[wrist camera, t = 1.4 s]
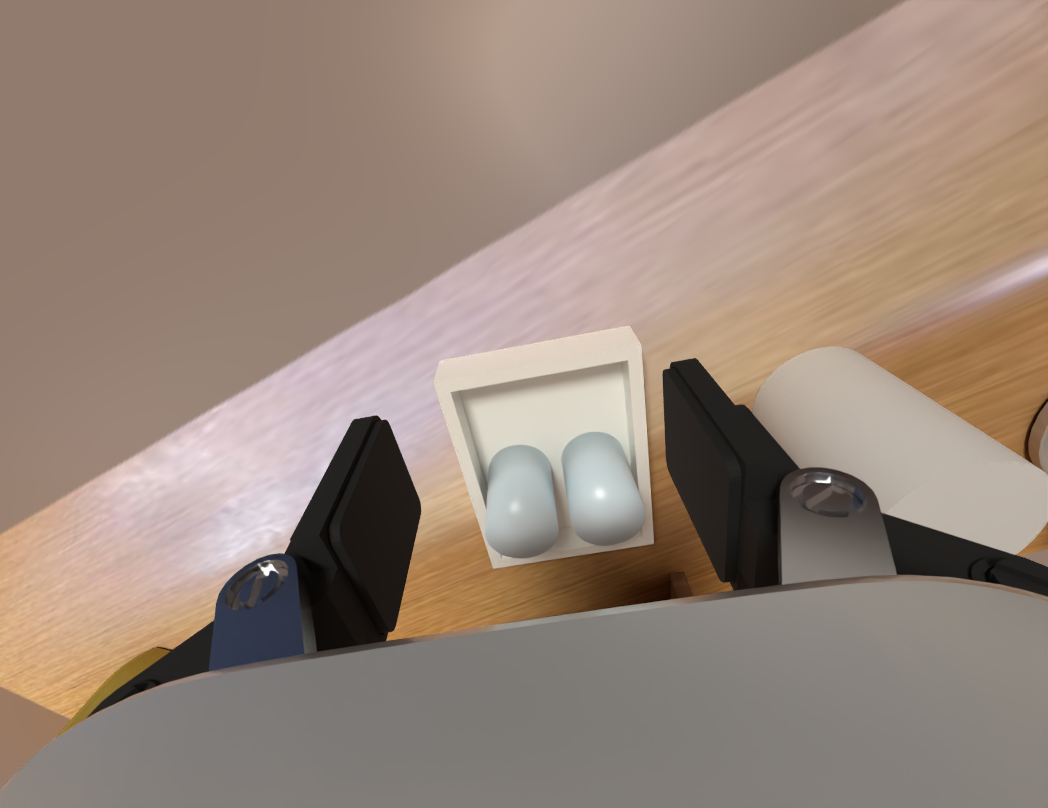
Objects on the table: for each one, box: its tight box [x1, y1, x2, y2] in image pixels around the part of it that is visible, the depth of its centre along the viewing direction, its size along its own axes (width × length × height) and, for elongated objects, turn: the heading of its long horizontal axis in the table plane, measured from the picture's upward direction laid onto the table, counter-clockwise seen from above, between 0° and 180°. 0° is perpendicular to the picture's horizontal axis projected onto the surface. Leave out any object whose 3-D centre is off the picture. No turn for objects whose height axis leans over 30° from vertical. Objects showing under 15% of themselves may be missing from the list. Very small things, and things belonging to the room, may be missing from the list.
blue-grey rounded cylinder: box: [485, 445, 559, 559], centre depth 31 cm, size 4×4×6 cm
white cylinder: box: [752, 347, 1048, 555], centre depth 27 cm, size 8×8×12 cm
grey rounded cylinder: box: [561, 432, 646, 546], centre depth 30 cm, size 4×4×6 cm
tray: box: [433, 326, 654, 569], centre depth 32 cm, size 12×16×3 cm
